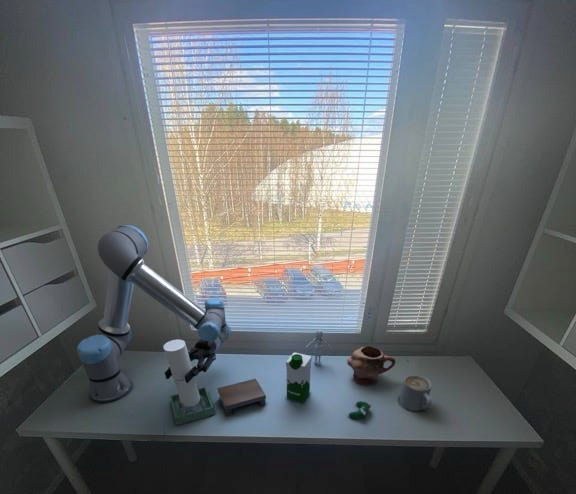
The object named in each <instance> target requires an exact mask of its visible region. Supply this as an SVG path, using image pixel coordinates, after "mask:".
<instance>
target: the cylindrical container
mask: <svg viewBox="0 0 576 494" xmlns="http://www.w3.org/2000/svg"><path fill="white" fill-rule="evenodd" d="M162 347H163V351H164V354H165V357H166V361H167V363H168V367H170V370H171V373H172V376H171V377H172V379H173V382H174V385H175V389H176V392H177V391H178V393H177V394H178V395H179V398H180V401H181V402H182V403H183V407H186V408H187V407H188V408H189V407H192V406H194V407H195V406H196V405H198V404H199V403H200V402H201V401H200V396H199V392H198V388H199V387H198V388H197V386H198V385H197V381H196V378H195V377H196V376H194V377H193V378H192V379H191V380H190V381H189V382H188V383H186V380H185V375H186V374H187V373H188V372H189V371H190V370H191V369H192V368H193V365H192V363H191V362H192V361H190V358H189V355H188V351H187V350H188V347H187V344H186V341H185V340H183V339H172V340H169V341H167V342H166V343H165V344H163V346H162Z"/></svg>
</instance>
